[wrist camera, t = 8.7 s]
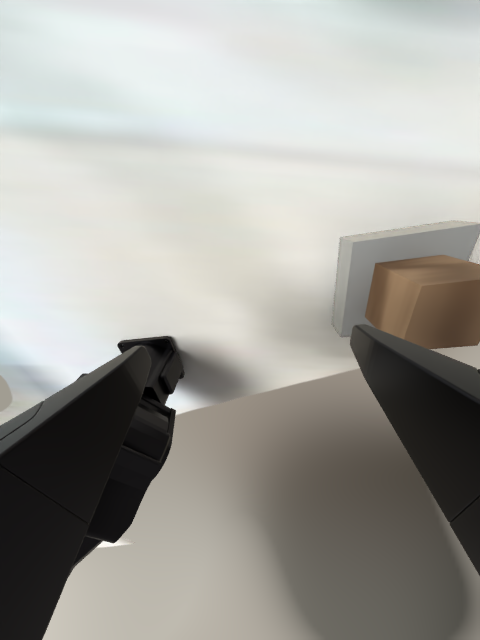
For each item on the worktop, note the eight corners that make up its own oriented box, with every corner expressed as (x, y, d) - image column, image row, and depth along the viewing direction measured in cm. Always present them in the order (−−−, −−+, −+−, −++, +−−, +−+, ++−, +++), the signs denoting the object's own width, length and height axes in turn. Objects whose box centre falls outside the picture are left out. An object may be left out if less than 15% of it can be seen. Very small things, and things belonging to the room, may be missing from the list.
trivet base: (330, 321, 22) (340, 337, 20) (337, 236, 18) (353, 242, 15) (416, 312, 21) (440, 327, 19) (447, 220, 17) (484, 223, 14)
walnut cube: (364, 316, 19) (399, 351, 14) (375, 263, 16) (421, 285, 12) (422, 310, 18) (477, 345, 14) (443, 254, 15) (518, 275, 11)
